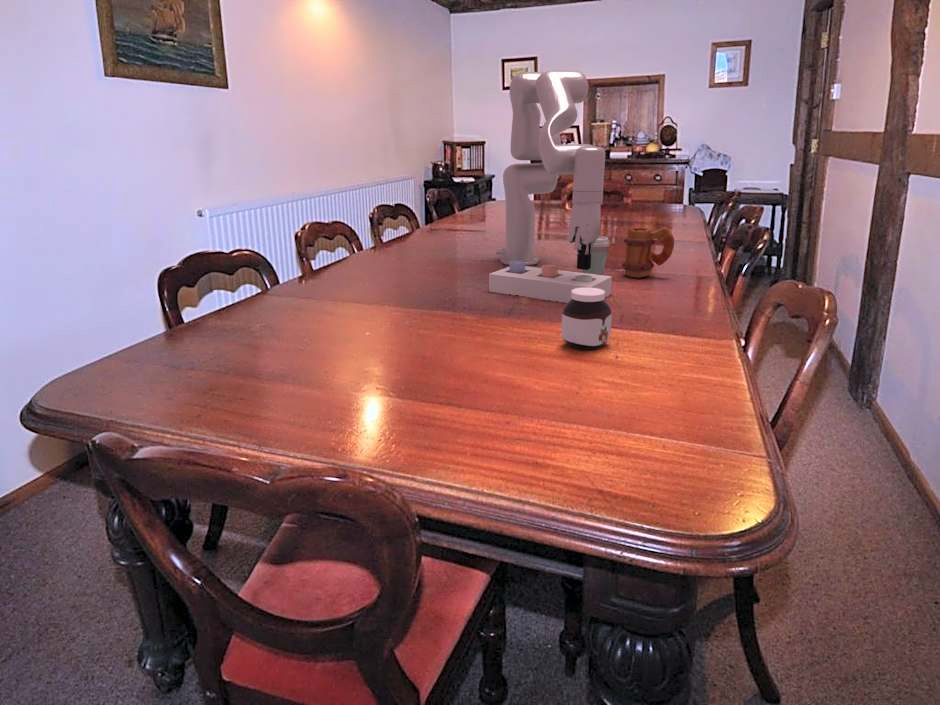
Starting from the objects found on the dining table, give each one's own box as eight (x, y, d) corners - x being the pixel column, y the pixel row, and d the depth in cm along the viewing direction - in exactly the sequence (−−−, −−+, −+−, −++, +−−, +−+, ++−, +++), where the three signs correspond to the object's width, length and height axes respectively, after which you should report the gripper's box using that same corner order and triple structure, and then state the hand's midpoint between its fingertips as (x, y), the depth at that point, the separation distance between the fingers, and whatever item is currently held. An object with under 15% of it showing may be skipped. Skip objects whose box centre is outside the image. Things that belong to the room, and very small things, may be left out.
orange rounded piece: (538, 284, 179) (538, 266, 177) (545, 281, 182) (546, 263, 180) (553, 286, 176) (553, 268, 175) (560, 283, 180) (560, 265, 178)
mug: (617, 277, 197) (620, 227, 192) (624, 272, 203) (628, 223, 198) (667, 282, 190) (672, 230, 185) (673, 276, 197) (678, 226, 192)
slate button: (506, 280, 184) (506, 262, 182) (514, 277, 187) (514, 260, 186) (520, 282, 181) (520, 264, 180) (527, 279, 185) (528, 261, 183)
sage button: (571, 296, 174) (572, 277, 172) (578, 292, 177) (579, 274, 176) (587, 298, 172) (588, 279, 170) (594, 294, 175) (595, 276, 173)
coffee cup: (607, 281, 192) (609, 240, 188) (577, 280, 193) (579, 240, 189) (607, 275, 200) (609, 235, 196) (579, 274, 201) (580, 235, 197)
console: (489, 291, 182) (489, 273, 181) (514, 281, 193) (514, 264, 192) (589, 306, 167) (590, 287, 165) (610, 294, 178) (611, 276, 176)
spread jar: (581, 355, 133) (584, 299, 129) (543, 341, 141) (545, 288, 137) (621, 343, 139) (625, 289, 135) (583, 330, 148) (585, 279, 144)
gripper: (585, 193, 174) (582, 261, 180) (561, 200, 162) (558, 272, 169) (612, 195, 170) (608, 265, 176) (589, 202, 158) (585, 276, 165)
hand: (583, 268), depth 173 cm, fingers closed
